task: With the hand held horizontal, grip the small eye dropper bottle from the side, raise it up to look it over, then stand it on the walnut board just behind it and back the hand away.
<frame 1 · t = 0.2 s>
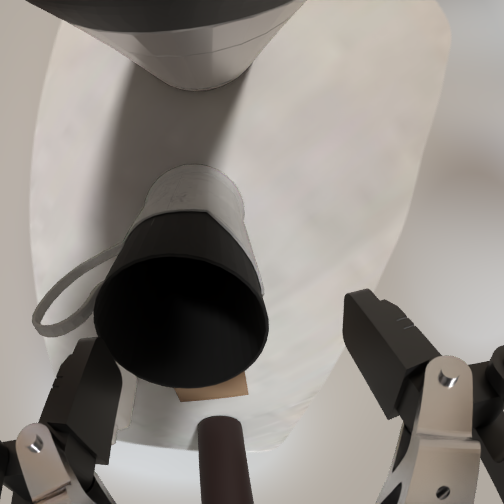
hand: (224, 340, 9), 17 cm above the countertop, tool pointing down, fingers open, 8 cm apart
walnut board: (204, 364, 33), on the countertop
glass holder: (163, 220, 25), on the countertop
eye dropper bottle: (119, 367, 32), on the countertop
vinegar: (219, 424, 40), on the countertop
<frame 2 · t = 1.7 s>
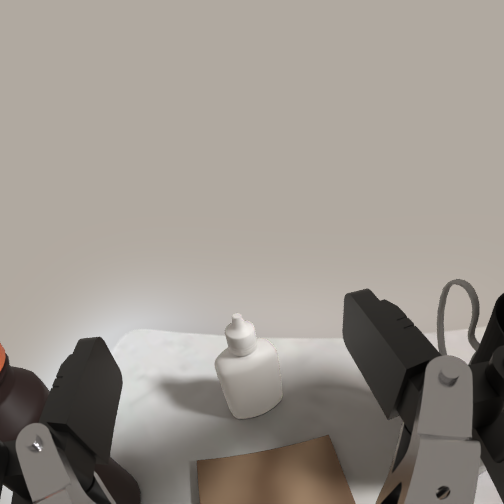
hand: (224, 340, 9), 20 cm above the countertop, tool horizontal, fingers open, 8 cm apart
walnut board: (273, 496, 18), on the countertop
glass holder: (450, 424, 20), on the countertop
eye dropper bottle: (256, 404, 28), on the countertop
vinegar: (111, 496, 18), on the countertop
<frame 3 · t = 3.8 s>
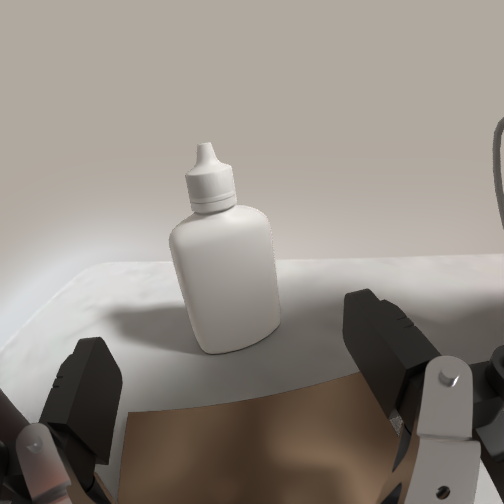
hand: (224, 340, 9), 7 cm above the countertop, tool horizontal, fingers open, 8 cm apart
walnut board: (261, 488, 9), on the countertop
eye dropper bottle: (239, 335, 19), on the countertop
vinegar: (7, 460, 9), on the countertop
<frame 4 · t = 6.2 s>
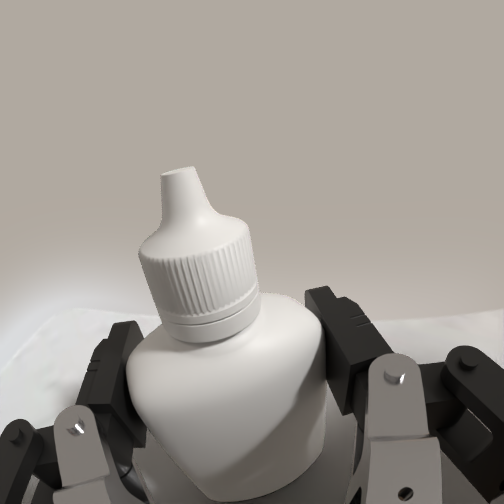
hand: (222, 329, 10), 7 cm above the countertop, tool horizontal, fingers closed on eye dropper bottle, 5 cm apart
eye dropper bottle: (260, 465, 11), on the countertop, touching gripper
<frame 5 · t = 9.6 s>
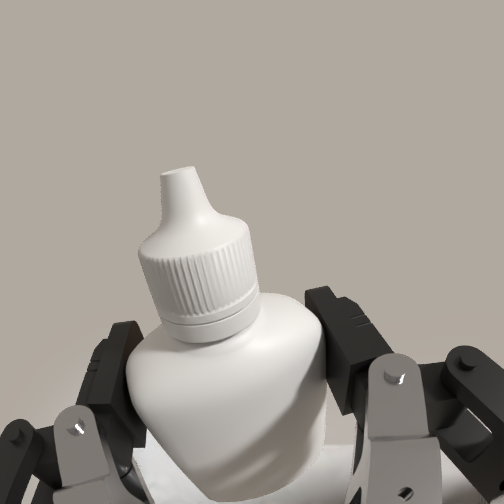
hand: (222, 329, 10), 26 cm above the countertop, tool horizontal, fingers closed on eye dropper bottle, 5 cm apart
eye dropper bottle: (260, 465, 11), point 19 cm above the countertop, touching gripper
when the fingers open (9 cm above the countertop, at t = 13.1 s): eye dropper bottle drops 1 cm, resting on walnut board.
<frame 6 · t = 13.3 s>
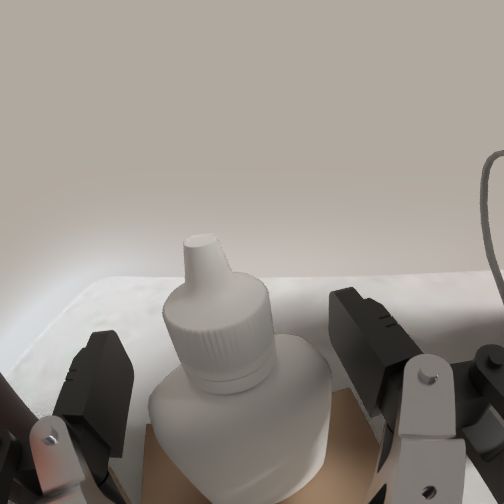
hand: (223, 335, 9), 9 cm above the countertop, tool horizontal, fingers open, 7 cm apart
walnut board: (263, 487, 11), on the countertop
eye dropper bottle: (265, 477, 11), point 1 cm above the countertop, touching walnut board
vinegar: (32, 469, 11), on the countertop
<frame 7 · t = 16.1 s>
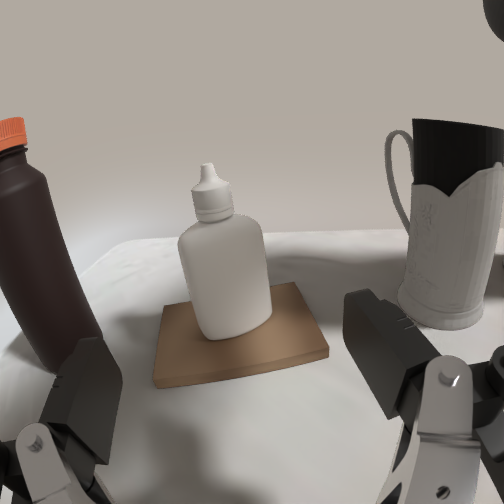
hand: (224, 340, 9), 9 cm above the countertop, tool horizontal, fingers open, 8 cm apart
walnut board: (235, 335, 23), on the countertop
glass holder: (423, 286, 25), on the countertop
eye dropper bottle: (236, 324, 23), point 1 cm above the countertop, touching walnut board
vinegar: (74, 351, 22), on the countertop
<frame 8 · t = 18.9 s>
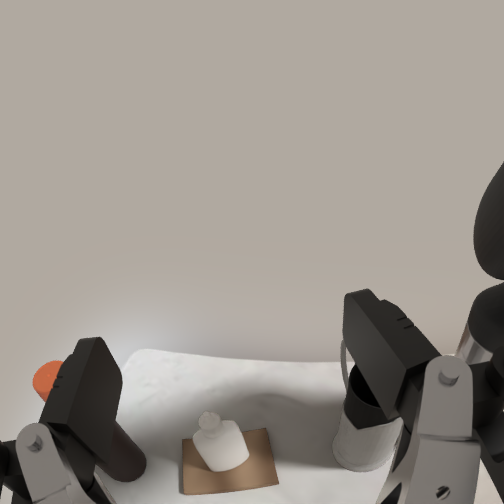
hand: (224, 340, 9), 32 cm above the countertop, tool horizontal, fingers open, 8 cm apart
walnut board: (228, 464, 32), on the countertop
glass holder: (356, 431, 34), on the countertop
eye dropper bottle: (228, 460, 32), point 1 cm above the countertop, touching walnut board
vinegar: (127, 464, 31), on the countertop
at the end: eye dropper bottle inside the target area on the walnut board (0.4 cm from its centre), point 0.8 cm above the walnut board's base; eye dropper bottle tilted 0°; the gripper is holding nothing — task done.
